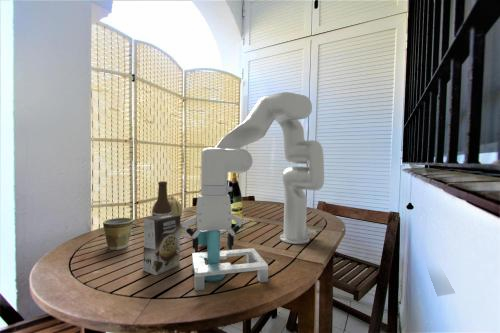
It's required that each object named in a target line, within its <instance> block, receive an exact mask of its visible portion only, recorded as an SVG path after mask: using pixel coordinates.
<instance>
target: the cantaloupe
mask: <svg viewBox="0 0 500 333" xmlns="http://www.w3.org/2000/svg"><path fill="white" fill-rule="evenodd" d="M167 198H168V201H169V203H170V204H171V207H172V214H176V215H181V216H180V218H182V213H183V207H182V204H181V203H180V202H179V200H178V199H176V198H175V197H174V196H173V195H172V196H167ZM156 202H157V200H156V201H155V202H154V204H155V203H156ZM154 204H153V205H152V208H151V212H150V213H151V216H153V207H154Z"/></svg>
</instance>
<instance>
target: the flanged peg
mask: <svg viewBox="0 0 500 333" xmlns="http://www.w3.org/2000/svg"><path fill="white" fill-rule="evenodd" d="M206 246H207V249H206V250H207V251H206V252H207V261H206V262H207V263H206V265H209V264H219V263H221V262H220V261H221V260H220V251H221V231H216V230H215V231H208V243H207V245H206ZM225 277H226V274H219V275H210V276H205V280H204V282H205V281H206V282H213V283H214V282H218V281H221V280H223V279H224V278H225Z"/></svg>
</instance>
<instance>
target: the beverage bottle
mask: <svg viewBox="0 0 500 333" xmlns="http://www.w3.org/2000/svg"><path fill="white" fill-rule="evenodd" d="M207 243H208V231H201V232H200V234H199V235H198V245H201V246H207Z"/></svg>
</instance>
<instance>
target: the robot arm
mask: <svg viewBox="0 0 500 333" xmlns="http://www.w3.org/2000/svg"><path fill="white" fill-rule="evenodd" d="M312 111H313V104H312V101H311V99H310V98H309V96H306V95H304V94H300V93H294V92H288V91H286V92H285V91H284V92H277V93H273V94H268V95H265V96H262V97H261V98H260V99H258V101H257V102H256V103H255V105H254V107H253V108H252V109H251V111H250V112H249V114H248V115H247V117H246V118H245V120H244V121H243V122H242V123H240V124H239V125H237V126H236V127H235V128H233V129H232V130H231V131H229V132H227V133H226V134H225V135H224V136H223V137H222V138H221V139H220V140H219V142H218V143H217V144H216V145H215V147H205V148H204V149H202V151H201V167H200V169H201V170H200V171H201V173H200V176H201V178H200V179H201V180H200V181H201V182H200V183H201V184H200V194H199V195H198V196H197V200H196V207H195V215H193V216H192V217H189V218H188V219H186V220H184V221H183V222H182V225H183V228H184V230H185V231H186V233H187V234H188V235H189V236H190V237H191V238H192V249H194V253H199V244H198V235H199V234H200V232H201V231H215V230H216V231H220V232H221V231H227V232H228V233H227V244H226V245H227V249H228V250H233V246H234V243H235V242H234V241H235V240H234V239H235V236H236V234H237V233H238V232H239V231H240V229H241V227H242V226H243V223H244V220H243V218H240V217H239V216H236V215H234V214H232V203H231V197H230V194H229V192H233V186H230V185H228V176H229V175H228V173H231V174H243V173H246V172H248V171H250V169H251V167H252V166H253V156H252V155H251V153H250V152H249V151H248V150H247V149H244V148H243V147H245V146H248V145H250V144H253V143H255V142H258V141H259V140H261V139H263V138H265V136H266V134H267V132H268V131H269V129H270V128H271V126H272V125H273V122H274V121H276V122H277V124H278V125H279V126H280V129H281V130H282V134H283V148H284V149H283V150H284V158H285V160H286V162H287V163H289V164H302V165H303V164H304V165H308V166H301V165H300V166H299V165H298V166H297V165H294V166H288V167H287V168H285V169H284V170H283V172H282V184H283V191H284V195H283V196H284V198H283V199H284V203H283V206H284V208H283V233H281V234H280V236H279V239H280V241H282V242H284V243H288V244H291V245H292V244H293V245H303V244H304V245H305V244H307V243H309V242H310V237H309V236H310V235H312V236H316V235H317V230H315V229H307V212H308V211H307V209H308V208H307V205H308V204H307V203H308V199H307V195H306V194H305V192H304V190H307V191H319V190H321V189H322V188H323V186H324V184H325V164H324V163H325V161H324V158H325V157H324V149H323V146H322V144H321V143H320V141H317V140H315V139H311V140H305V131H304V127H303V125H302V123H301V122H300V120H304V119H307V118H308V117H309V116H310V115H311V113H313V112H312ZM232 220H233V221H234V222H236V224H235V225H234V226H233V227H232V225H233V224H232V223H233V221H232ZM194 222H195V229H194V230H193V229H192V228H191V226H190V225H191V224H192V223H194Z"/></svg>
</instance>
